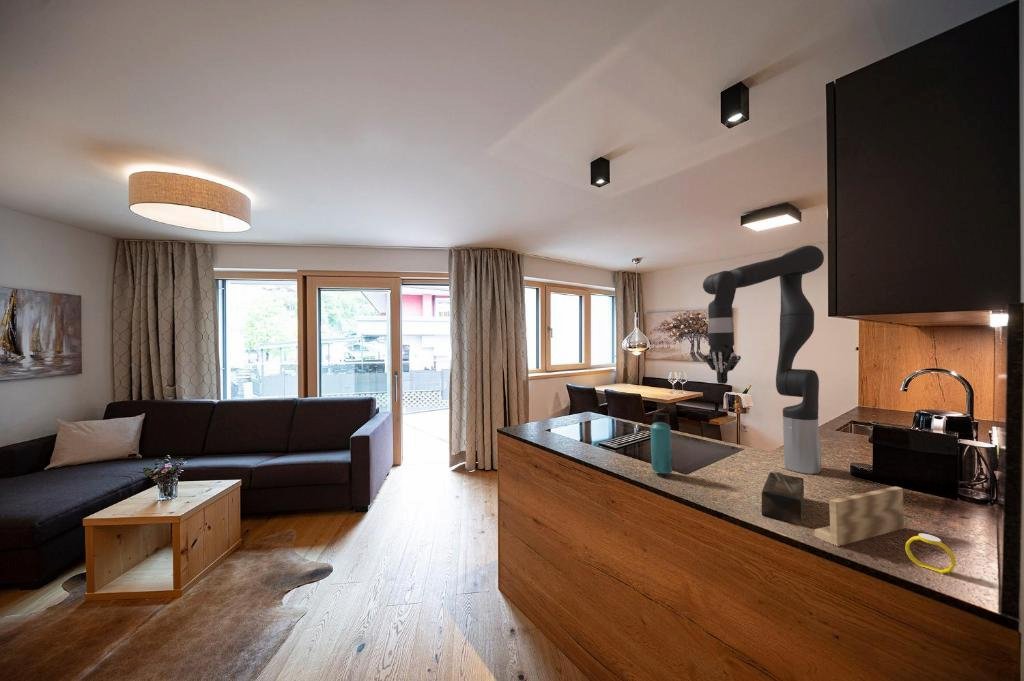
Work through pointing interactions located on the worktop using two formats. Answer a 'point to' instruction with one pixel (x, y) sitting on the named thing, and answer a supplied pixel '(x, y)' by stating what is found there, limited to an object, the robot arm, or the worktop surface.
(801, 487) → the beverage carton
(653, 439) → the beverage bottle
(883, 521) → the stand
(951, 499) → the worktop surface
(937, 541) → the watch
